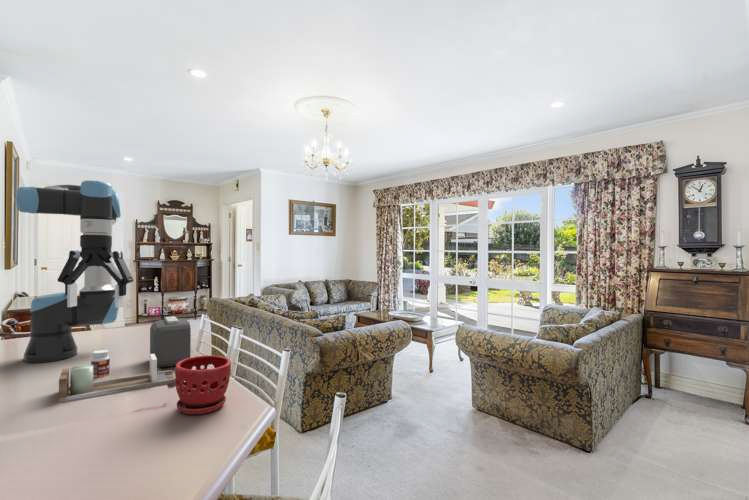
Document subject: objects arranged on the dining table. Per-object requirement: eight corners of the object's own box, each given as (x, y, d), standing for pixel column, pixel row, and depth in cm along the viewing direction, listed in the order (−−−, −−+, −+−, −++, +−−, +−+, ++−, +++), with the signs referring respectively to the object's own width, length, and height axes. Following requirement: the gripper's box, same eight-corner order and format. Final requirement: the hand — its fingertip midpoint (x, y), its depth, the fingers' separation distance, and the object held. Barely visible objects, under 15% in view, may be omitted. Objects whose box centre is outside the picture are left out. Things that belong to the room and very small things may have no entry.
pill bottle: (99, 381, 116) (100, 354, 116) (86, 380, 117) (87, 352, 117) (113, 376, 121) (113, 349, 121) (100, 375, 122) (101, 348, 122)
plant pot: (174, 423, 89) (175, 372, 89) (175, 402, 101) (175, 357, 101) (233, 412, 95) (233, 365, 95) (227, 394, 107) (227, 352, 107)
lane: (62, 394, 106) (62, 368, 106) (171, 376, 122) (171, 354, 121) (58, 406, 98) (58, 379, 98) (176, 385, 113) (176, 362, 113)
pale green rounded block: (70, 391, 105) (71, 366, 105) (93, 388, 108) (93, 363, 108) (69, 397, 101) (69, 371, 101) (92, 393, 104) (93, 368, 104)
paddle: (149, 376, 117) (149, 354, 117) (164, 374, 119) (164, 352, 119) (152, 383, 111) (152, 359, 111) (167, 381, 113) (167, 357, 113)
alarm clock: (190, 365, 133) (190, 320, 133) (152, 371, 126) (153, 324, 126) (183, 354, 146) (183, 313, 146) (149, 358, 140) (149, 316, 140)
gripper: (42, 233, 107) (41, 308, 107) (131, 234, 108) (130, 309, 108) (63, 234, 115) (62, 304, 115) (146, 235, 115) (146, 305, 115)
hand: (95, 306), depth 111 cm, fingers open, 13 cm apart
